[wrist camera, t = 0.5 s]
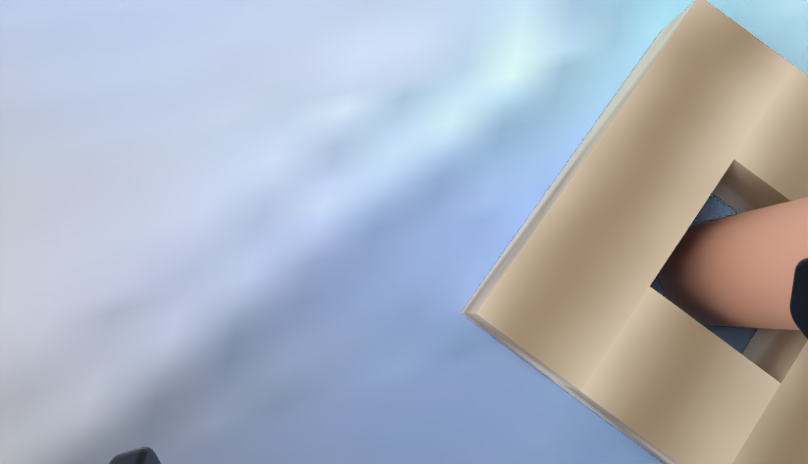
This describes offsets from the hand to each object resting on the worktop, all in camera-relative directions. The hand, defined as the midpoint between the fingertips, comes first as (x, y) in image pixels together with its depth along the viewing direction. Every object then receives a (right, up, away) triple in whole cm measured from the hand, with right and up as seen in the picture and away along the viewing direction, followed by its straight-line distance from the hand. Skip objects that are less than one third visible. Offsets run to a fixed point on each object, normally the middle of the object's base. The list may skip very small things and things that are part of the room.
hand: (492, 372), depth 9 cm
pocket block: (+11, 0, +16) cm, 20 cm away
